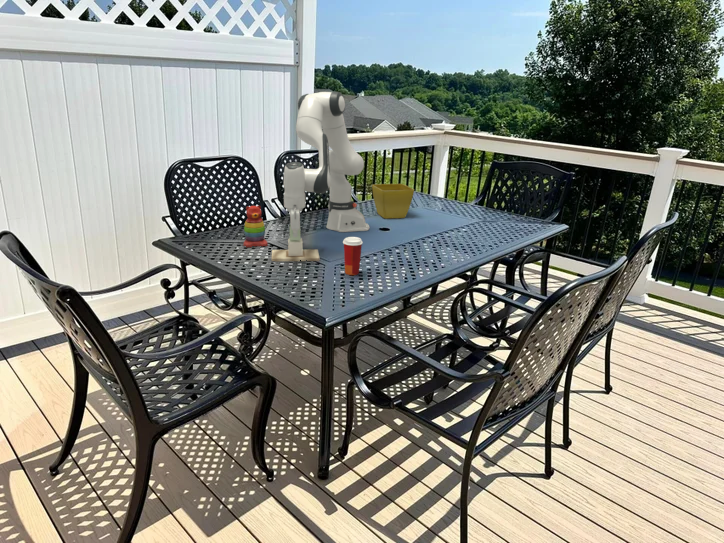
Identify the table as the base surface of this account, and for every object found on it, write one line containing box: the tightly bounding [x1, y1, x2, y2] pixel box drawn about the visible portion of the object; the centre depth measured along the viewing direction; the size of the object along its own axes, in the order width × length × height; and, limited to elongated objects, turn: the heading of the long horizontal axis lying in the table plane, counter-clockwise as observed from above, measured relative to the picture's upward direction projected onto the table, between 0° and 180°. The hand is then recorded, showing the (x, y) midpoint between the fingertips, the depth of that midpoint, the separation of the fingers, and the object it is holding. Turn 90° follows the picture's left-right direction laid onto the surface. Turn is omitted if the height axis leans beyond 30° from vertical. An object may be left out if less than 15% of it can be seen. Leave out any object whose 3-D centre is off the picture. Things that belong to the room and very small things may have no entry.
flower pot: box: [371, 183, 415, 220], centre depth 291 cm, size 19×19×17 cm
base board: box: [271, 248, 320, 262], centre depth 221 cm, size 20×12×1 cm, turn 98°
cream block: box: [287, 237, 304, 256], centre depth 220 cm, size 6×6×6 cm
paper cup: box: [342, 236, 364, 276], centre depth 202 cm, size 8×8×14 cm
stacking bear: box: [242, 205, 269, 248], centre depth 233 cm, size 11×10×18 cm
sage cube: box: [288, 224, 301, 240], centre depth 217 cm, size 4×4×6 cm
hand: (295, 234), depth 218 cm, fingers closed on sage cube, 4 cm apart
